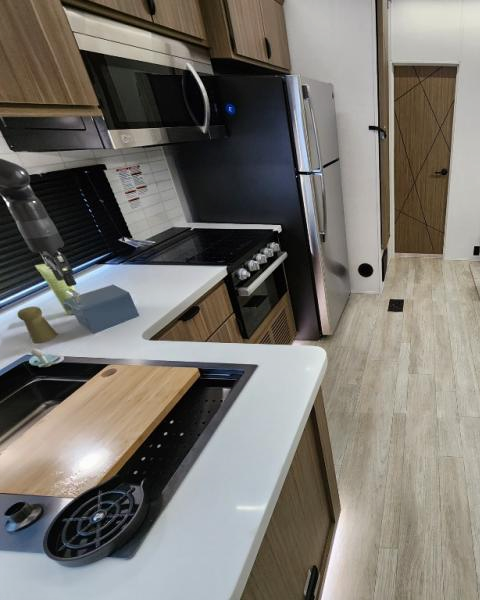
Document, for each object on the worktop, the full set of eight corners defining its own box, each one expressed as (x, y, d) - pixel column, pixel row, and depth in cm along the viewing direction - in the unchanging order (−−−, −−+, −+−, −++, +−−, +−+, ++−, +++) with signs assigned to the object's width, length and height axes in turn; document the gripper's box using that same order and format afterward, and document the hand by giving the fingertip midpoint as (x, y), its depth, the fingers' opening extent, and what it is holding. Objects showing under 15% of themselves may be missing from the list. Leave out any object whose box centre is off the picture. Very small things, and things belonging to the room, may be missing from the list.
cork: (38, 334, 110) (20, 306, 105) (61, 331, 112) (44, 302, 106) (27, 344, 105) (8, 315, 100) (51, 340, 107) (33, 311, 101)
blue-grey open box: (94, 333, 110) (81, 310, 106) (79, 323, 116) (67, 301, 112) (139, 315, 120) (130, 294, 116) (123, 307, 126) (114, 286, 122)
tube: (77, 307, 126) (51, 259, 117) (89, 307, 126) (64, 259, 117) (62, 314, 121) (34, 265, 112) (74, 315, 121) (47, 265, 112)
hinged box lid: (78, 311, 105) (71, 298, 103) (63, 302, 111) (56, 289, 109) (130, 294, 116) (124, 281, 114) (114, 286, 122) (108, 273, 120)
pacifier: (53, 355, 100) (28, 367, 95) (43, 337, 97) (17, 349, 92) (70, 359, 98) (46, 371, 93) (61, 341, 95) (35, 353, 90)
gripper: (15, 233, 99) (43, 282, 106) (31, 240, 92) (60, 292, 100) (48, 227, 104) (73, 274, 112) (65, 233, 98) (90, 283, 105)
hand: (67, 282), depth 106 cm, fingers open, 8 cm apart
